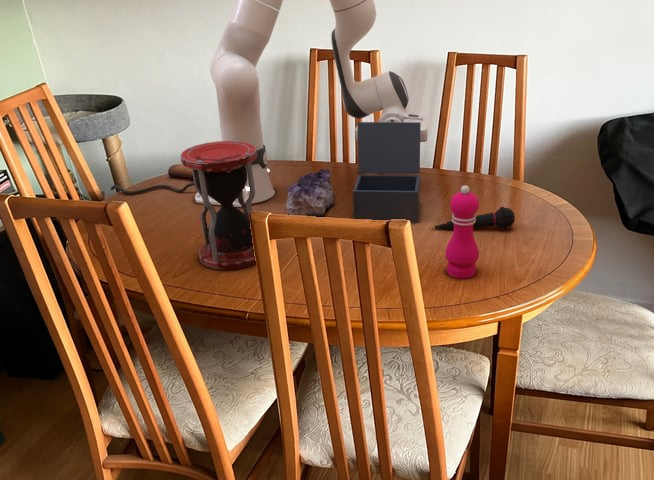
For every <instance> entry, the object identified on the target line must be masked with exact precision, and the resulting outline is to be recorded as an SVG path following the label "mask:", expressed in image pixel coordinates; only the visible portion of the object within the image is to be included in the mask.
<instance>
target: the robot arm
mask: <svg viewBox="0 0 654 480" xmlns="http://www.w3.org/2000/svg"><path fill="white" fill-rule="evenodd" d="M283 1H284V0H234V1H233V5H232V8H231V11H230V14H229V18H228V20H227V23H226V25H225V28H224V30H223V32H222V35H221V38H220V40H219V41H218V45H217V46H216V50H215V52H214V54H213V58H212V60H211V63H210V65H209V67H210V68H209V72H210V76H211V80H212V81H213V83H214V86H215V92H216V101H217V107H218V108H217V109H218V123H219V129H220V136H221V141H240V142H246V143H249V144H252V145H254V146H255V147H256V148H257V149H256V150H257V158H256V159H255V160H254V161H253V162H251V164H252V171H253V179H254V186H255V196H254V199H253V200H252V202H251V205H253V204H257V203H261V202H262V203H263V202H265V201H267V200H269V199H271V198H273V197H274V196H275V194H276V191H275V189H274V187H273V184H272V181H271V178H270V173H269V172H270V168H268V155H267V150H266V145H265V144H264V136H263V130H262V129H263V128H262V121H261V119H262V118H261V96H260V95H261V93H260V79H259V74H258V70H257V69H256V67H257V65H258V63H259V60H260V58H261V56H262V54H263V52H264V50H265V49H266V46H267V45H268V43H269V42H270V40H271V37H272V34H273V31H274V28H275V25H276V23H277V19H278V17H279V14H280V11H281V8H282V5H283ZM329 3H330V6H331V9H332V11H333V13H334V19H335V25H334V28H333V30H332V31H331V38H330V40H331V47H332V52H333V57H334V63H335V67H336V71H337V75H338V79H339V80H338V81H339V84H340V89H341V93H342V103H343V104H342V105H343V107H344V110H345V112H346V113H347V115H348V116H350V117H352V118H354V119H357V120H361V119H364V118H366V117H368V116H370V115H372V114H375V113H378V112H381V114H380V117H379V119H378V122H421V128H420V143H425V142H427V141H428V125H427V123H426V121H424V117H423V115H418V114H412V113H410V111H409V108H408V104H409V101H410V100H409V94H408V90H407V87H406V85H405V81H404V80H403V79H402V77H401V76H400V75H399V74H397V73H395V72H393V71H391V70H390V71H386V72H383V73H379V74H377V75H375V76H373V77H370V78H367V79H365V80H361V81H356V80H355V78H354V77H355V76H354V72H353V68H352V63H351V58H350V52H351V51H352V49H353V48H354V47H355V46H356V45H357V44H358V43H359V42H360V41H361V40H362V39H363V38H364V37H365V36H367V35H368V33H369V32H370V31H371V29H372V28H373V26H374V25H375V22H376V19H377V9H376V4H375V1H374V0H329ZM354 140H355V141H356V142H358V124H357V125H356V126H355V127H354ZM246 168H247V166H246ZM192 186H195V184H194V181H193V182H190V183H187V184H186V185H184V186H183V187H182V188H175V187H174V186H171V185H168V184H156V185H152V186H147V187H144V188H141V189H137V190H127V189H126V190H125V189H124V188H122V187H121V186H120V185H118V184H113V185H112V186H111V188H110V189H109V190H110V191H114V190H115V189H116V190H118V191H120V192H121V193H123V194H127V195H137V194H141V193H144V192H148V191H152V190H156V189H165V188H166V189H169V190H172V191H173V192H176V193H184V192H185V191H186V190H187V189H188V188H190V187H192ZM249 195H250V189H249V181H248V174H247V182H246V185H245V188H244V189H243V198H244V202H245V203H246V200H247V199H248V198H249ZM208 198H209V201H210V203H211V205H212V206H213V205H214V206H221V204H220V203H218V202H217V201H215V200H214V199H212V198H211V197H210V196H208ZM194 201H195V203H197V204H203V205H204V203H203V200H202V197H201V195H200V194H199V193H198V192H197V191H196V193H195V195H194ZM233 206H234V207H236V208H243V207H242V205H241V204H240V203H239V201H238V198H237V199H236V200H235V201H234V202H233Z"/></svg>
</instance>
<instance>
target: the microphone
mask: <svg viewBox="0 0 654 480" xmlns="http://www.w3.org/2000/svg"><path fill="white" fill-rule="evenodd" d="M515 218H516V217H515V213H514V211H513V210H512V209H511V208H508V207H505V206H500V207H499V208H498V209H496V211H495V212H489V213H483V214H477V215H476V218H475V219H476V222H475V223H474V224H473V229H477V228H491V227H495V226H496V227H498V228H500V229H501V230H503V231H505V230H507V228H510V227H512V226H513V224H514V223H515V220H516V219H515ZM434 229H442V230H443V229H447V230H453V231H454V223H453V222H452V219H451V220H449V221H447V222H445V223H441V224H437V225H434Z"/></svg>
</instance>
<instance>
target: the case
mask: <svg viewBox="0 0 654 480" xmlns="http://www.w3.org/2000/svg"><path fill="white" fill-rule="evenodd" d="M420 181H421V175H420V174H358V176H357V178H356V181H355V184H354V186H353V190H352V206H353V219H354V218H355V219H372V220H391V219H406V220H410V221H411V222H410V223H418V221H419V213H420V204H421V203H420V201H421V200H420V198H421V197H420V194H421V192H420V191H421V190H420V189H421V187H420V186H421V185H420V184H421V183H420Z"/></svg>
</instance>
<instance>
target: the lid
mask: <svg viewBox="0 0 654 480" xmlns="http://www.w3.org/2000/svg"><path fill="white" fill-rule="evenodd" d="M357 125H358V141H357V157H358V159H357V161H358V163H357V164H358V167H357V168H358V174H389V175H420V173H421V142H420V128H421V122H379V121H357Z"/></svg>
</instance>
